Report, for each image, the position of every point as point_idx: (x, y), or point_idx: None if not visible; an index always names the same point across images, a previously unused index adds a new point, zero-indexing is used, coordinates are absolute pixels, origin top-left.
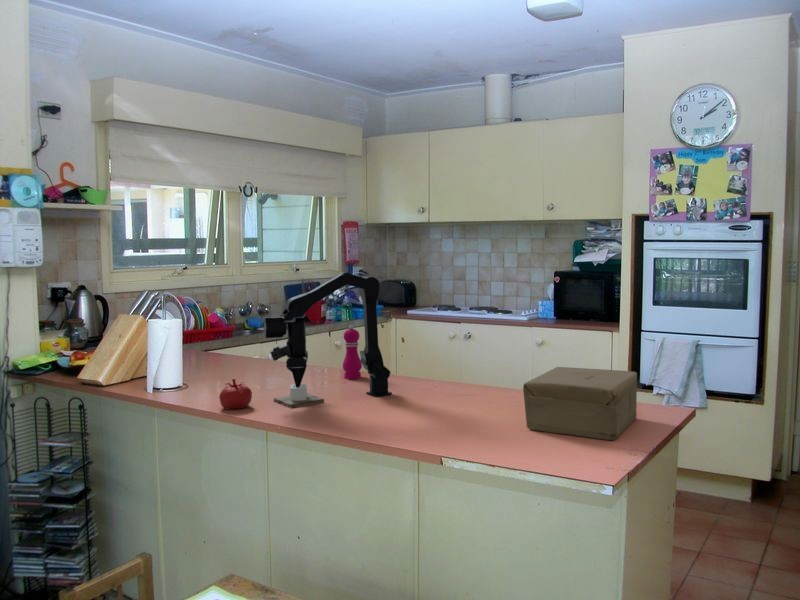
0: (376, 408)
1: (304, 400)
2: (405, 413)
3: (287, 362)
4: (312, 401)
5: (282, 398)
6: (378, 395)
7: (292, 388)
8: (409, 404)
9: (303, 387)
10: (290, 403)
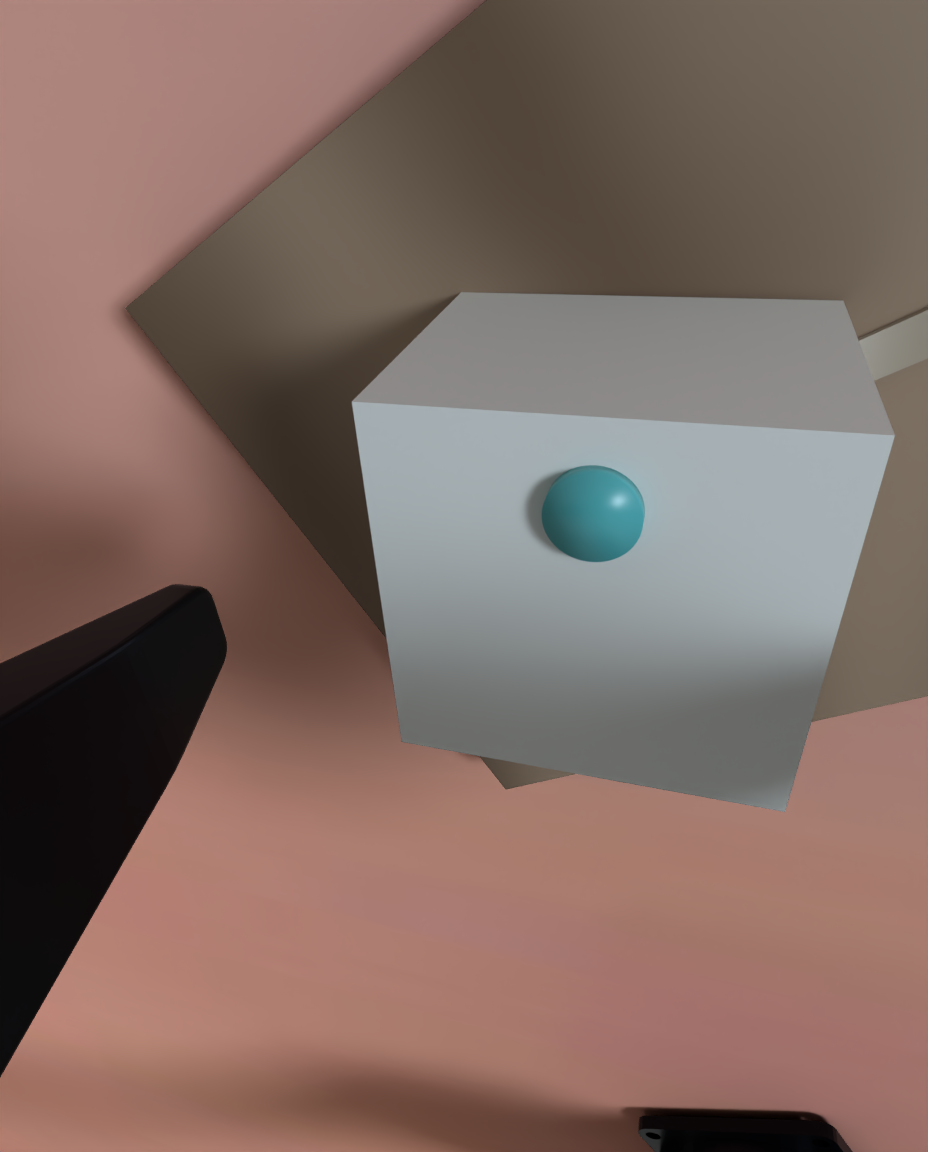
0: (243, 993)
1: None
2: (138, 1043)
3: None
4: None
5: (755, 29)
6: (644, 1135)
7: (364, 463)
8: (362, 1127)
9: (440, 707)
10: (220, 301)
